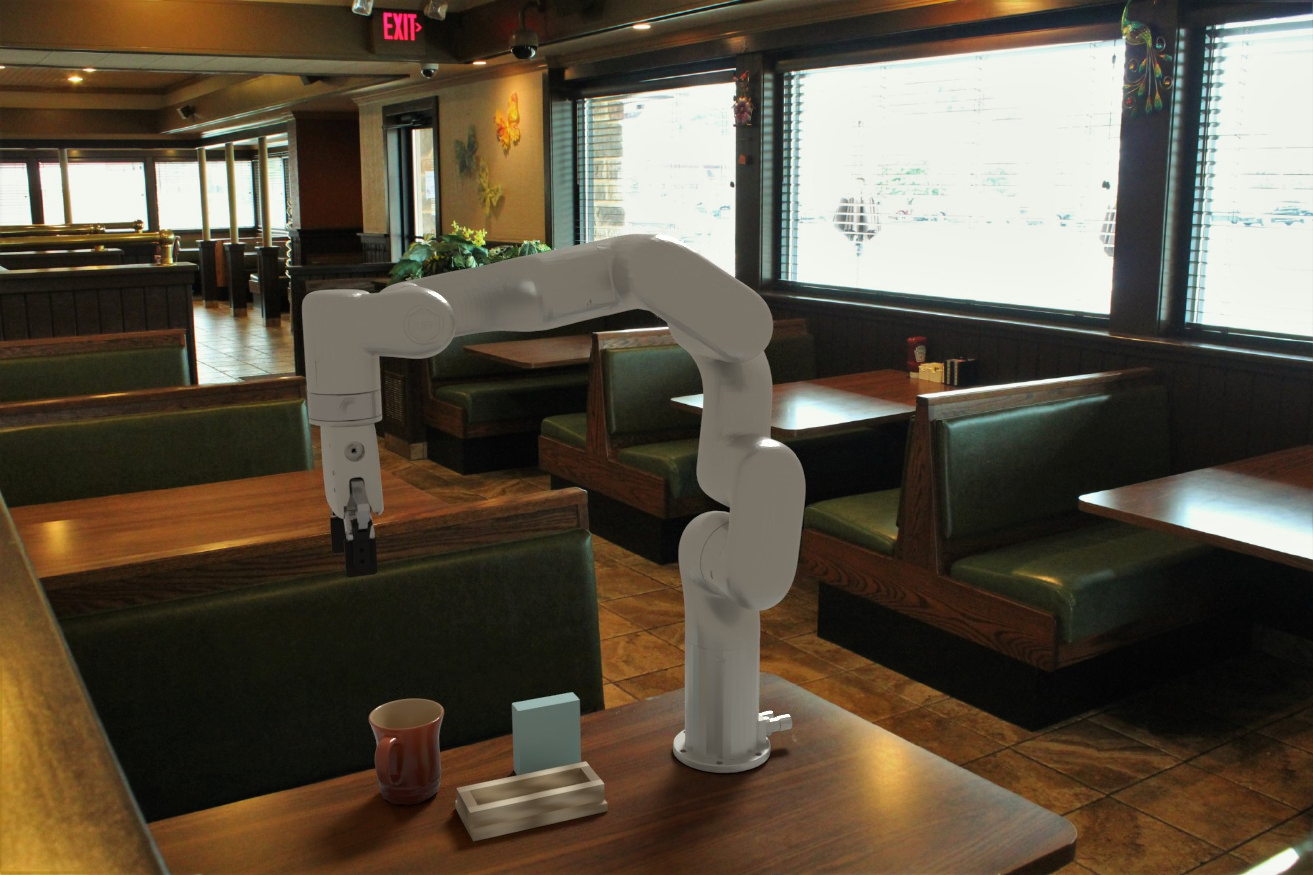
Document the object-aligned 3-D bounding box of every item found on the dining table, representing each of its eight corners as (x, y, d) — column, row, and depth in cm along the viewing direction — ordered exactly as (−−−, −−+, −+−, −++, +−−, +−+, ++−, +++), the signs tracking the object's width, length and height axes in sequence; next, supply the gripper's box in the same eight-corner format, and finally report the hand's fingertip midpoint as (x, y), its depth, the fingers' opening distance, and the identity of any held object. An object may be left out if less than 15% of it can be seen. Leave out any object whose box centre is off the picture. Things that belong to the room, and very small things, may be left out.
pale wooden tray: (583, 780, 139) (583, 758, 139) (607, 810, 132) (607, 787, 131) (455, 808, 133) (454, 784, 132) (473, 841, 126) (472, 816, 125)
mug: (392, 772, 141) (388, 695, 140) (458, 779, 140) (455, 701, 138) (347, 821, 130) (342, 738, 128) (419, 829, 128) (415, 744, 126)
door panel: (574, 758, 145) (572, 692, 144) (581, 766, 143) (579, 699, 141) (513, 770, 142) (511, 703, 140) (520, 779, 140) (518, 711, 138)
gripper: (397, 417, 114) (404, 580, 117) (366, 394, 129) (374, 539, 132) (319, 422, 111) (330, 590, 114) (298, 398, 126) (308, 546, 129)
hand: (354, 562), depth 123 cm, fingers open, 9 cm apart
